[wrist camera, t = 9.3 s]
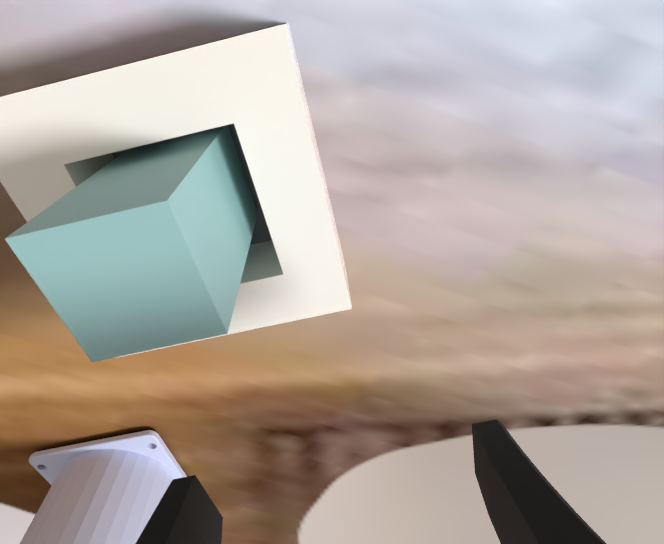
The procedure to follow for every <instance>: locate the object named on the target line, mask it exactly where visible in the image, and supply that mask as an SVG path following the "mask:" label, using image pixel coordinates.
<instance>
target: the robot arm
mask: <svg viewBox="0 0 664 544" xmlns="http://www.w3.org/2000/svg"><path fill="white" fill-rule="evenodd" d="M472 433H473V448H474V462H475V474H476V477H477V480H478V483H479V486H480V489H481V493H482V496H483V498H484V501H485V505H486V508H487V511H488V514H489V517H490V519H491V521H492V524H493V526H494V528H495V531H496V533H497V535H498V538H499V540H500V542H501V544H606V543H605V542H604V541H603V540H602V539H601V538H600V537H599V536H598V535H597V534H596V533H595V532H594V531H593V530H592V529H591V528H590V527H589V526H588V524H587V523H586V522H585V521H584V520H583V519H582V518H581V517H580V516H579V515H578V514H577V513H576V512H575V511H574V510H573V508H572V507H571V506H570V505H569V504H568V503H567V502H566V501H565V500H564V499H563V497H562V496H561V495H560V494H559V493H558V492H557V491H556V490H555V489H554V487H553V486H552V485H551V484H550V483H549V482H548V481H547V479H546V478H545V477H544V476H543V475H542V474H541V473H540V472H539V470H538V469H537V468H536V467H535V466H534V464H533V463H532V462H531V460H530V459H529V458H528V457H527V456H526V454H525V453H524V452H523V451H522V449H521V448H520V447H519V446H518V444H517V443H516V442H515V440H514V439H513V438H512V437H511V435H510V434H509V432H508V431H507V430H506V428H505V427H504V425H503V424H502V423H501V422H500V421H498V420H492V421H486V422H481V423H475V424H472ZM29 463H30V464H31V465H32V466H33V467H34V468H35V469H36V470H37V471H38V472H39V473H40V474H41V475H42V476H43V477H44V478H45V479H46V480H47V481H48V483H49V484H50V485H51V488H50V490H49V491H48V493H47V495H46V497H45V499H44V500H43V502H42V504H41V506H40V508H39V510H38V511H37V513H36V515H35V517H34V519H33V521H32V523H31V524H30V526H29V528H28V530H27V532H26V533H25V535H24V537H23V539H22V541H21V542H20V544H221V539H222V520H223V517H222V516H221V514H220V513H219V511H218V509H217V508H216V506H215V505H214V503H213V502H212V500H211V499H210V497H209V496H208V494H207V493H206V491H205V490H204V488H203V487H202V485H201V483H200V482H199V480H198V479H197V477H196V476H195V475H194V476H189V477H187V476H186V475H185V473H184V472H183V470H182V469H181V467H180V466H179V464H178V463H177V461H176V460H175V458H174V457H173V455H172V454H171V452H170V451H169V449H168V448H167V446H166V445H165V443H164V442H163V440H162V439H161V437H160V436H159V434H158V433H157V432H155V431H153V430H146V431H141V432H136V433H130V434H125V435H120V436H115V437H110V438H105V439H99V440H94V441H89V442H84V443H79V444H74V445H69V446H63V447H58V448H53V449H48V450H43V451H38V452H34V453H32V454H31V456H30V458H29Z"/></svg>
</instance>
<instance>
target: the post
mask: <svg viewBox="0 0 664 544" xmlns="http://www.w3.org/2000/svg"><path fill="white" fill-rule="evenodd" d="M257 215H258V212H257V209H256V206H255V203H254V200H253V197H252V194H251V191H250V188H249V185H248V183H247V180H246V177H245V174H244V171H243V168H242V165H241V162H240V159H239V156H238V153H237V150H236V147H235V144H234V141H233V138H232V135H231V133H230V130H229V127H228V125H225V126H221V127H216V128H212V129H208V130H204V131H200V132H196V133H192V134H188V135H183V136H179V137H175V138H171V139H167V140H163V141H159V142H155V143H150V144H146V145H142V146H138V147H134V148H130V149H128V150H126V151H125V152H124V153H122V154H121V155H119V156H118V157H117V158H115V159H114V160H113V161H111V162H110V163H108V164H107V165H106V166H104V167H103V168H101V169H100V170H99V171H97V172H96V173H95V174H93V175H92V176H90V177H89V178H88V179H86V180H85V181H84V182H82V183H81V184H79V185H78V186H77V187H75V188H74V189H72V190H71V191H70V192H68V193H67V194H66V195H64V196H63V197H61V198H60V199H59V200H57V201H56V202H55V203H53V204H52V205H50V206H49V207H48V208H46V209H45V210H43V211H42V212H41V213H39V214H38V215H37V216H35V217H34V218H32V219H31V220H30V221H28V222H27V223H26V224H24V225H23V226H21V227H20V228H19V229H17V230H16V231H14V232H13V233H12V234H10V235H9V236H8V237H6V238H5V240H6V242H7V243H8V245H9V246H10V247H11V249H12V250H13V252H14V253H15V254H16V256H17V257H18V259H19V260H20V261H21V263H22V264H23V266H24V267H25V269H26V270H27V271H28V273H29V274H30V276H31V277H32V278H33V280H34V281H35V283H36V284H37V285H38V287H39V288H40V290H41V291H42V293H43V294H44V295H45V297H46V298H47V300H48V301H49V302H50V304H51V305H52V307H53V308H54V310H55V311H56V312H57V314H58V315H59V317H60V318H61V319H62V321H63V322H64V324H65V325H66V326H67V328H68V329H69V331H70V332H71V334H72V335H73V336H74V338H75V339H76V341H77V342H78V343H79V345H80V346H81V348H82V349H83V350H84V352H85V353H86V355H87V356H88V358H89V359H90V360H91V362H95V361H100V360H105V359H109V358H114V357H119V356H124V355H128V354H133V353H138V352H143V351H148V350H152V349H157V348H162V347H167V346H171V345H176V344H181V343H186V342H190V341H195V340H200V339H205V338H209V337H214V336H219V335H224V334H228V330H229V326H230V322H231V318H232V314H233V310H234V306H235V302H236V298H237V294H238V290H239V286H240V282H241V278H242V274H243V270H244V266H245V262H246V258H247V254H248V250H249V246H250V243H251V239H252V235H253V231H254V227H255V223H256V219H257Z"/></svg>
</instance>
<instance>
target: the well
mask: <svg viewBox="0 0 664 544" xmlns="http://www.w3.org/2000/svg"><path fill="white" fill-rule="evenodd" d="M225 125H228V127H229V130H230V133H231V135H232V138H233V141H234V144H235V147H236V150H237V153H238V156H239V159H240V162H241V165H242V168H243V171H244V174H245V177H246V180H247V183H248V185H249V188H250V191H251V194H252V197H253V200H254V203H255V206H256V209H257V212H258V215H257V219H256V223H255V227H254V231H253V235H252V239H251V243H250V246H249V250H248V254H247V258H246V262H245V266H244V270H243V274H242V278H241V282H240V286H239V290H238V294H237V298H236V302H235V306H234V310H233V314H232V318H231V322H230V326H229V330H228V334H232V333H237V332H242V331H247V330H252V329H256V328H261V327H266V326H271V325H276V324H281V323H285V322H290V321H295V320H300V319H305V318H309V317H314V316H319V315H324V314H329V313H334V312H338V311H343V310H348V309H352V306H351V299H350V293H349V286H348V280H347V274H346V267H345V262H344V258H343V254H342V249H341V245H340V241H339V237H338V232H337V228H336V224H335V220H334V215H333V211H332V207H331V202H330V198H329V194H328V190H327V185H326V181H325V177H324V173H323V168H322V164H321V160H320V156H319V151H318V147H317V143H316V139H315V134H314V130H313V126H312V121H311V117H310V113H309V109H308V104H307V100H306V96H305V92H304V87H303V83H302V79H301V75H300V70H299V66H298V62H297V58H296V53H295V49H294V45H293V40H292V36H291V32H290V28H289V23H287V24H282V25H278V26H274V27H270V28H267V29H263V30H259V31H255V32H251V33H247V34H243V35H239V36H235V37H232V38H228V39H224V40H220V41H216V42H212V43H208V44H204V45H200V46H196V47H193V48H189V49H185V50H181V51H177V52H173V53H169V54H165V55H161V56H157V57H154V58H150V59H146V60H142V61H138V62H134V63H130V64H126V65H122V66H119V67H115V68H111V69H107V70H103V71H99V72H95V73H91V74H87V75H83V76H80V77H76V78H72V79H68V80H64V81H60V82H56V83H52V84H48V85H44V86H41V87H37V88H33V89H29V90H25V91H21V92H17V93H13V94H9V95H6V96H2V97H0V182H1V183H2V185H3V186H4V188H5V190H6V191H7V193H8V194H9V196H10V197H11V199H12V200H13V202H14V203H15V205H16V206H17V208H18V209H19V211H20V212H21V214H22V215H23V217H24V218H25V220H26V221H27V222H28V221H30V220H31V219H32V218H34V217H35V216H37V215H38V214H39V213H41V212H42V211H43V210H45V209H46V208H48V207H49V206H50V205H52V204H53V203H55V202H56V201H57V200H59V199H60V198H61V197H63V196H64V195H66V194H67V193H68V192H70V191H71V190H72V189H74V188H75V187H77V186H78V185H79V184H81V183H82V182H84V181H85V180H86V179H88V178H89V177H90V176H92V175H93V174H95V173H96V172H97V171H99V170H100V169H101V168H103V167H104V166H106V165H107V164H108V163H110V162H111V161H113V160H114V159H115V158H117V157H118V156H119V155H121V154H122V153H124V152H125V151H126V150H128V149H130V148H134V147H138V146H142V145H146V144H150V143H155V142H159V141H163V140H167V139H171V138H175V137H179V136H183V135H188V134H192V133H196V132H200V131H204V130H208V129H212V128H216V127H221V126H225ZM224 335H227V334H224ZM219 336H223V335H219ZM214 337H218V336H214ZM209 338H213V337H209ZM205 339H208V338H205ZM200 340H203V339H200ZM195 341H199V340H195ZM190 342H194V341H190ZM186 343H189V342H186ZM181 344H184V343H181ZM176 345H179V344H176ZM171 346H174V345H171ZM167 347H170V346H167ZM162 348H165V347H162ZM157 349H160V348H157ZM152 350H155V349H152ZM148 351H150V350H148ZM143 352H146V351H143ZM138 353H141V352H138ZM133 354H136V353H133ZM128 355H131V354H128ZM124 356H126V355H124ZM119 357H121V356H119ZM116 358H117V357H116Z"/></svg>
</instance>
